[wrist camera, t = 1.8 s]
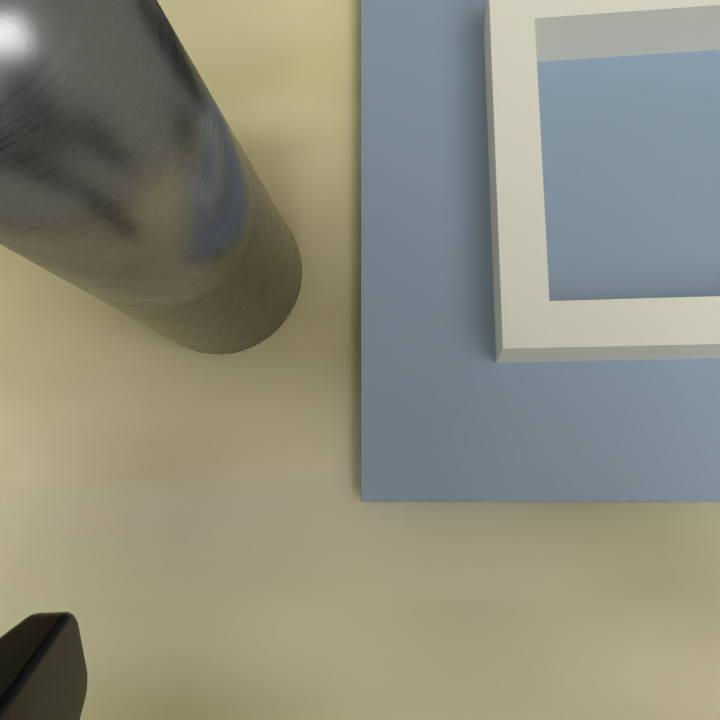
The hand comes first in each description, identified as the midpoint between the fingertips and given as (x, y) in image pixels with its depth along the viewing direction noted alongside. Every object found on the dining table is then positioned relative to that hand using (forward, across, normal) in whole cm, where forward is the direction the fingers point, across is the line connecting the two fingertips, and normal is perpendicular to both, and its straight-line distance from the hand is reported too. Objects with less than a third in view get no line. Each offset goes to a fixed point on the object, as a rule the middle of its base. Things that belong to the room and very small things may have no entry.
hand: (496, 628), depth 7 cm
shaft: (+15, +5, 0) cm, 16 cm away
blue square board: (+14, -8, -3) cm, 17 cm away
